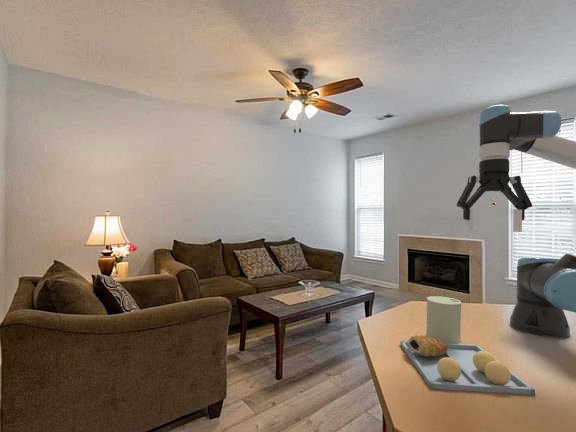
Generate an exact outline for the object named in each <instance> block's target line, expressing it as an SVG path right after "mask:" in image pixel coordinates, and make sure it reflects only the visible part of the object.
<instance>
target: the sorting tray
mask: <svg viewBox="0 0 576 432" xmlns="http://www.w3.org/2000/svg"><path fill="white" fill-rule="evenodd" d="M408 341H409V340H400V347H401V348H402V350H403V351H404V352H405V354H406V355H407V357H408V358H409V359H410V360H411V362H412V364H413V365H414V367H415V368H416V370H417V371H418V372H419V373H420V375H421V377H422V379H424V381H425V383H426V384H427V386H428V387H429V389H430V390H433V389H434V390H449V391H465V392H482V393H496V394H497V393H500V394H515V395H529V396H530V395H536V389H535V388H534V387H532V386H531V385H530V384H529V383H527V382H526V381H525V380H523V379H522V378H521V377H520V376H518V375H517V374H516V373H514V372H513V371H512V370H511V369H509V370H510V373H511V379H510V381H509V383H507V384H506V385H496V384H494V383H492V382H491V381H490V380H489V379H488V378H487V377H486V374H485V373H483V372H480V371H479V370H478V369H477V368H476V367H475V366H474V363H473V356H474V354H475V353H477V352H479V351H486V350H485V349H483V348H482V347H481V346H480V345H479V344H474V343H473V344H471V343H470V344H469V343H468V344H467V343H456V344H452V343H445V344H446V345H447V352H446V353H445V354H444V355H440V356H432V355H431V356H422V355H419V354H417V353H416V352H413V351H411V350H410V349H409V347H408V345H407V342H408ZM445 357H449V358H452V359H454V360H455V361H457V362H458V364H459V365H460V368H461V375H460V377H459V378H458V379H457V380H455V381H448V380H445V379H444V378H442V377H441V376H440V374H439V373H438V370H437V364H438V362H439V360H440V359H442V358H445ZM496 361H499V360H498V359H496Z"/></svg>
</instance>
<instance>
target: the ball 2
mask: <svg viewBox="0 0 576 432" xmlns="http://www.w3.org/2000/svg"><path fill="white" fill-rule="evenodd" d="M510 370H511V369H509V367H508V366H507V365H506V364H504V363H503V362H501V361H499V360H498V361H491V362H489V363H487V365H486V366H485V374H486V377H487V378H488V379H489V380H490V381H491V382H492V383H494V384H496V385H506V384H507V383H509V381H510V379H511V373H510Z"/></svg>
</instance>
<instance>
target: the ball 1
mask: <svg viewBox="0 0 576 432" xmlns="http://www.w3.org/2000/svg"><path fill="white" fill-rule="evenodd" d="M496 360H497V359H496V358H495V356H494V355H493V354H491V353H490V352H488V351H486V350H485V351H479V352H477V353H475V354H474V356H473V363H474V366H475V367H476V368H477V369H478V370H479V371H480V372H483V373H485V366H486V365H487V363H489V362H491V361H496Z"/></svg>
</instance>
